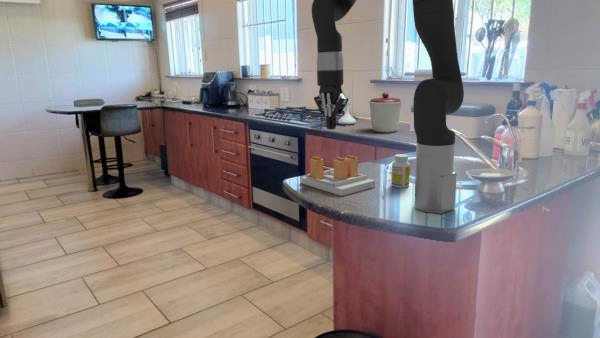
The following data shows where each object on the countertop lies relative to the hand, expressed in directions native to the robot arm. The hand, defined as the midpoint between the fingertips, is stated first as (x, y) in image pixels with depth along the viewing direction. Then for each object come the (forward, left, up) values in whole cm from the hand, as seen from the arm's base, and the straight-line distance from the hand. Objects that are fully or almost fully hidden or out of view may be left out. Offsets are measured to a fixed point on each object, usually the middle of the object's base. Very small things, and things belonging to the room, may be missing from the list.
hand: (331, 129), depth 127 cm
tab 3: (+1, -9, -16) cm, 19 cm away
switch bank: (+3, -5, -19) cm, 19 cm away
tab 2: (+1, -5, -16) cm, 17 cm away
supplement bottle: (-11, -18, -19) cm, 29 cm away
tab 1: (+7, 0, -16) cm, 18 cm away
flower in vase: (+100, -100, -19) cm, 142 cm away
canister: (+64, -95, -19) cm, 116 cm away
